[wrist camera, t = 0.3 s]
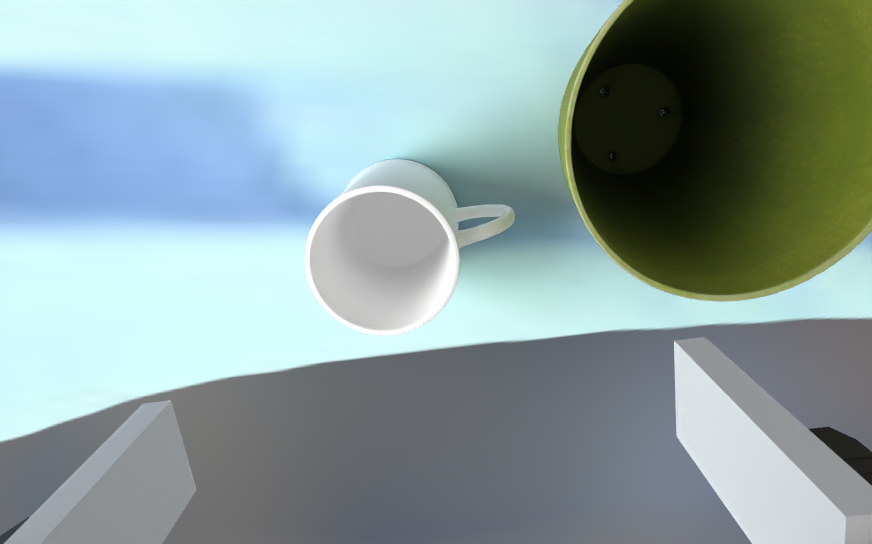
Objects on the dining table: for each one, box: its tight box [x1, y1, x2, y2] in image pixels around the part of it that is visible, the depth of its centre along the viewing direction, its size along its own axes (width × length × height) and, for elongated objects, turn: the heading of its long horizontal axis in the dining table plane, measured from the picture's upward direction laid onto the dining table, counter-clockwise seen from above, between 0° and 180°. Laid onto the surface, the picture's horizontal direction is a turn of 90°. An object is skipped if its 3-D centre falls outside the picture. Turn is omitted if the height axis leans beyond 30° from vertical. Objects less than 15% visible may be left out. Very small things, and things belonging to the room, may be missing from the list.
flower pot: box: [558, 0, 872, 301], centre depth 32 cm, size 15×15×16 cm
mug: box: [305, 159, 515, 335], centre depth 36 cm, size 12×8×12 cm
